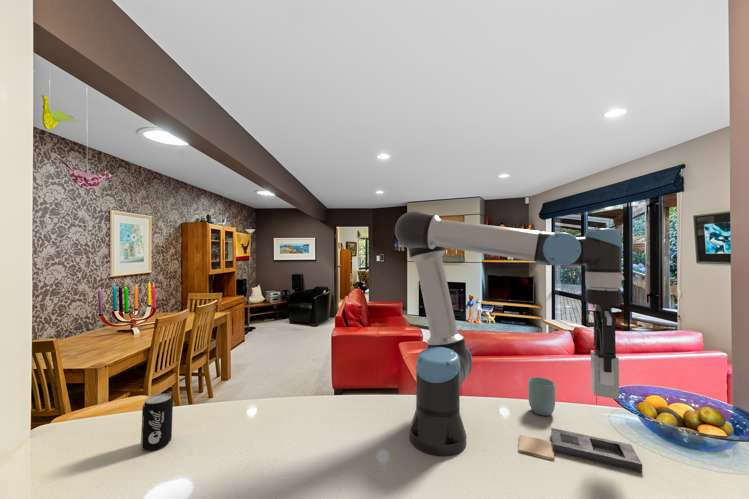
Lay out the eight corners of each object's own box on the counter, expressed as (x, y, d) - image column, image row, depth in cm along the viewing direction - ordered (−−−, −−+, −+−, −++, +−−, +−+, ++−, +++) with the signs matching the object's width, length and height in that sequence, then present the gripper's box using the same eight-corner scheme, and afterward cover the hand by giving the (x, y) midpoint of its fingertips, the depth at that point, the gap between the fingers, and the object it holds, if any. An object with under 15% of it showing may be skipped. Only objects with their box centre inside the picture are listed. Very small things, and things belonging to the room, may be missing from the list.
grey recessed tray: (553, 452, 82) (553, 443, 82) (551, 435, 90) (551, 427, 90) (642, 473, 74) (642, 463, 74) (631, 452, 82) (631, 444, 82)
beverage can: (177, 441, 84) (178, 395, 85) (150, 455, 79) (152, 405, 79) (161, 435, 87) (163, 391, 88) (135, 448, 81) (136, 400, 82)
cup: (559, 419, 99) (558, 387, 99) (532, 417, 100) (531, 384, 101) (550, 408, 106) (550, 378, 107) (525, 406, 108) (525, 376, 108)
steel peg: (594, 395, 80) (594, 355, 80) (591, 388, 84) (590, 350, 85) (619, 399, 78) (618, 357, 78) (614, 391, 82) (613, 352, 83)
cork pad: (518, 451, 82) (518, 449, 82) (519, 436, 89) (519, 434, 89) (554, 460, 78) (554, 458, 78) (552, 444, 85) (552, 441, 85)
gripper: (631, 292, 72) (633, 396, 71) (612, 287, 89) (614, 372, 88) (591, 290, 76) (592, 390, 75) (581, 286, 92) (581, 367, 91)
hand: (604, 380), depth 81 cm, fingers closed on steel peg, 5 cm apart
